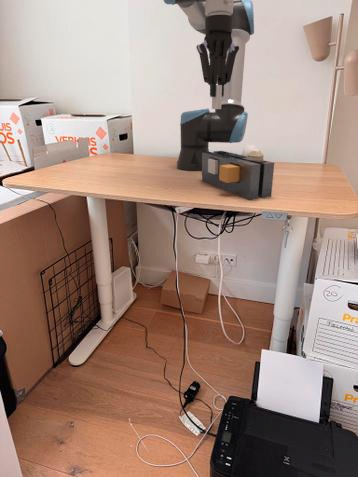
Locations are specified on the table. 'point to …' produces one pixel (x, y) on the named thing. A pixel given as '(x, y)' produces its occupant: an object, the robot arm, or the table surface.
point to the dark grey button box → (241, 174)
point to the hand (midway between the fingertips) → (216, 108)
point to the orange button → (229, 173)
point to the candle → (256, 155)
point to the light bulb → (249, 149)
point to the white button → (213, 165)
